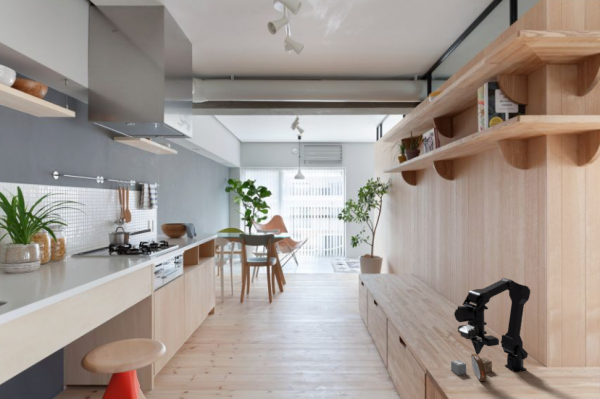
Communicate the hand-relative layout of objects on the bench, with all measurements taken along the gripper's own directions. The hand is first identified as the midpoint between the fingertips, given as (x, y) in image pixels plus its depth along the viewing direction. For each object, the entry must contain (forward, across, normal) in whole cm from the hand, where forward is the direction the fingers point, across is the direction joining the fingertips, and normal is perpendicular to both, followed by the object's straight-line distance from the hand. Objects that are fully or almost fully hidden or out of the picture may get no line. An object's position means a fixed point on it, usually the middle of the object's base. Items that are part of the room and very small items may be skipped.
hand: (477, 353), depth 163 cm
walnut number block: (+10, -4, +8) cm, 13 cm away
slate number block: (+10, -6, -5) cm, 13 cm away
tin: (+10, 0, 0) cm, 10 cm away
